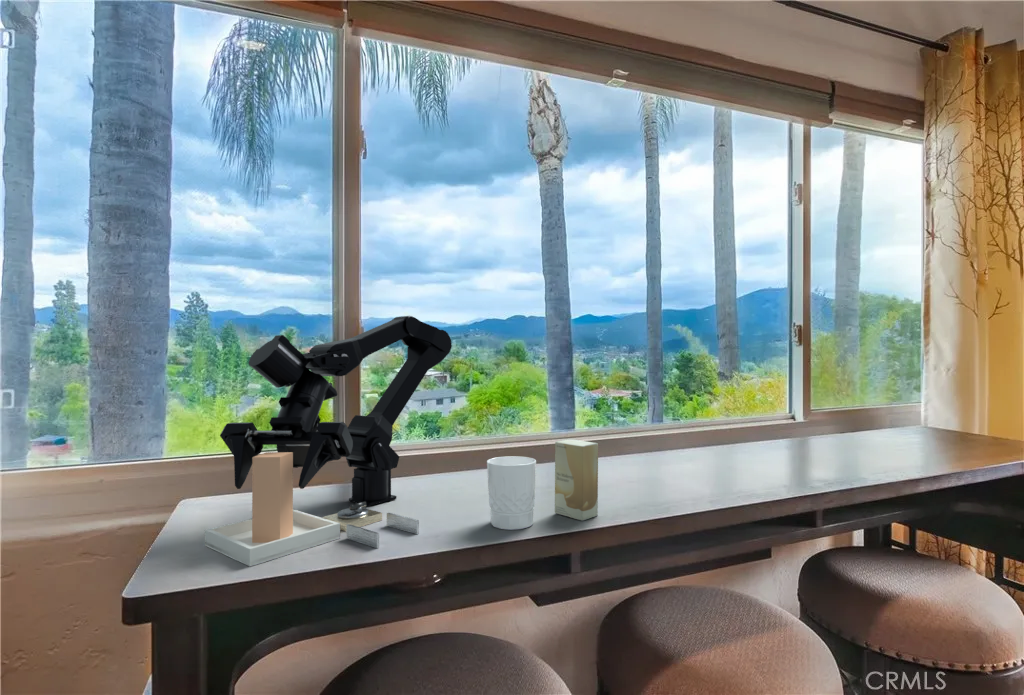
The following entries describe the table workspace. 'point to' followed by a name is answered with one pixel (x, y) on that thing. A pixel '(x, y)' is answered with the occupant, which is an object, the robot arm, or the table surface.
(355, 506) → the bracket
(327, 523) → the tray
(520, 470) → the white cup
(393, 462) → the robot arm
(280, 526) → the tan rectangular block
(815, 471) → the table surface
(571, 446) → the skincare box
